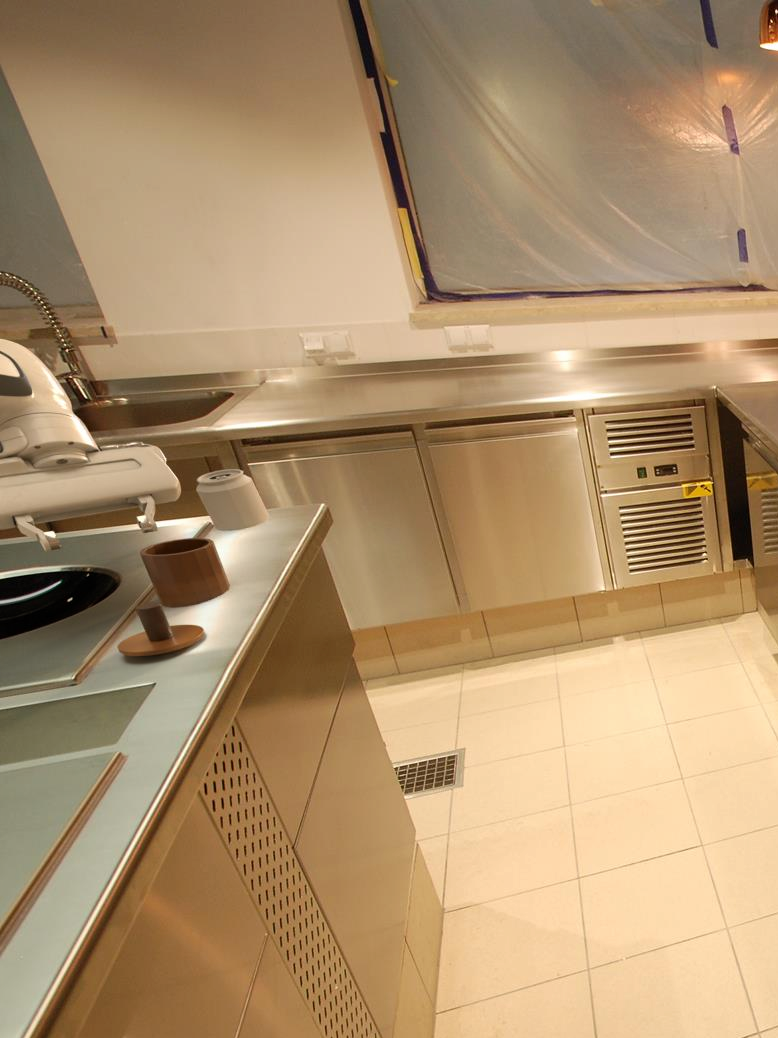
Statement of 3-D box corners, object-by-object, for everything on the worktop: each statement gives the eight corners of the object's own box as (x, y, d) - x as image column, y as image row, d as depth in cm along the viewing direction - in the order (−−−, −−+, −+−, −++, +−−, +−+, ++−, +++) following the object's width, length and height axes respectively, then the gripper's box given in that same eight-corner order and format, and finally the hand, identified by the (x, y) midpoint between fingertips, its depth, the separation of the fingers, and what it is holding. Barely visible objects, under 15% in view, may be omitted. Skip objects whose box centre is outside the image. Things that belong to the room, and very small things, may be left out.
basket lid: (134, 666, 103) (115, 624, 101) (111, 649, 107) (93, 608, 105) (217, 643, 109) (201, 603, 107) (193, 627, 114) (177, 588, 111)
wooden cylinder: (173, 617, 116) (149, 559, 113) (155, 604, 120) (132, 547, 117) (241, 600, 122) (221, 545, 119) (222, 588, 126) (202, 534, 123)
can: (273, 527, 150) (242, 463, 143) (282, 540, 145) (250, 474, 139) (221, 540, 145) (187, 474, 139) (229, 553, 141) (194, 486, 134)
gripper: (155, 453, 120) (203, 532, 119) (-56, 481, 104) (-3, 571, 103) (153, 426, 115) (202, 507, 114) (-68, 450, 100) (-13, 544, 99)
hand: (103, 538), depth 109 cm, fingers open, 8 cm apart
